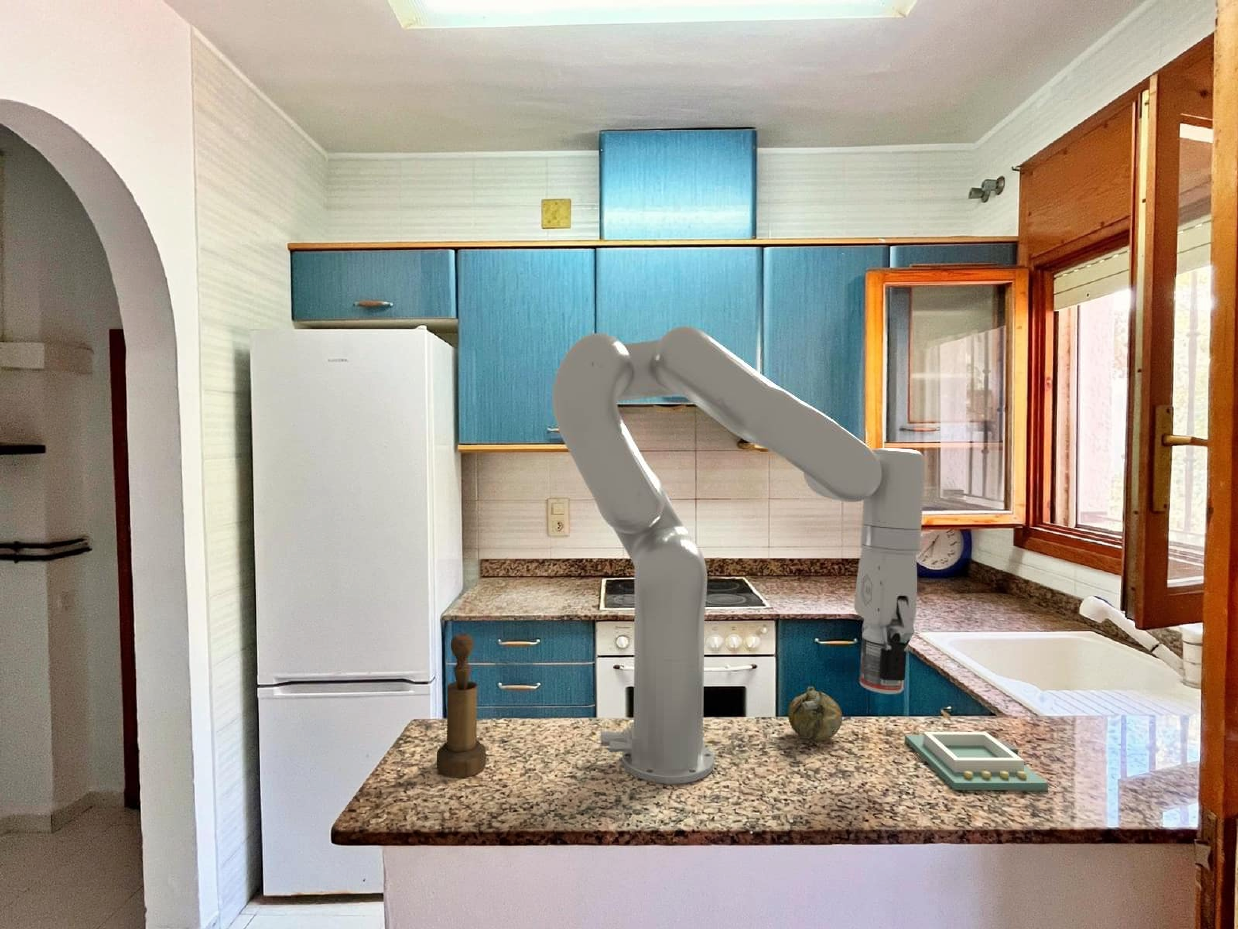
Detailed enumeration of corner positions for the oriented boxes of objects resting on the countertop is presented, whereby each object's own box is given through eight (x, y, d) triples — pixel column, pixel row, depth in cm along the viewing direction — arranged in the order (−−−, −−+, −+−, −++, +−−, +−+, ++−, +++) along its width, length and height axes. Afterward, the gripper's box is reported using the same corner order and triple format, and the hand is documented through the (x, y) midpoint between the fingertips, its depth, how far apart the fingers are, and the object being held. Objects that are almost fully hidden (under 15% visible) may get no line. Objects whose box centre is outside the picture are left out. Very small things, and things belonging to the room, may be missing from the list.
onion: (852, 746, 102) (853, 692, 102) (801, 750, 101) (802, 695, 101) (827, 726, 110) (828, 675, 110) (779, 729, 108) (780, 678, 108)
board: (955, 790, 89) (955, 770, 89) (904, 741, 104) (905, 724, 104) (1048, 790, 89) (1048, 770, 89) (984, 741, 104) (985, 724, 104)
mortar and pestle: (496, 766, 95) (496, 634, 94) (455, 783, 90) (456, 644, 90) (466, 752, 99) (467, 625, 99) (426, 767, 94) (427, 634, 94)
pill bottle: (868, 678, 99) (872, 608, 99) (909, 688, 96) (913, 616, 96) (852, 687, 95) (857, 614, 95) (895, 698, 91) (900, 622, 91)
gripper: (841, 530, 103) (834, 652, 104) (888, 547, 86) (879, 692, 87) (891, 533, 104) (884, 654, 104) (948, 550, 86) (939, 695, 87)
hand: (882, 670), depth 95 cm, fingers closed on pill bottle, 5 cm apart
